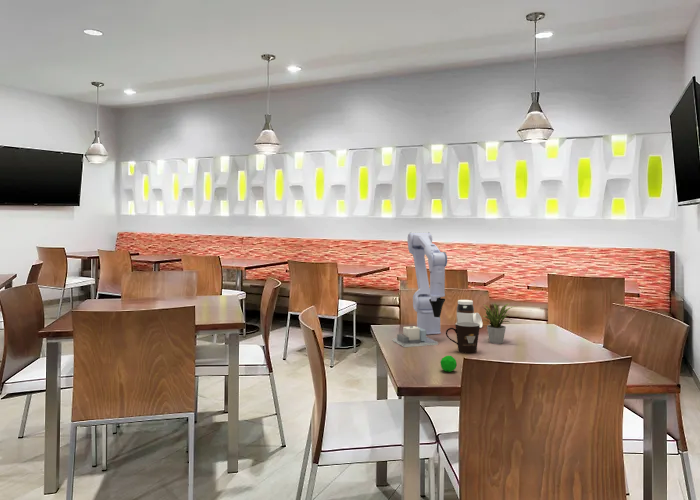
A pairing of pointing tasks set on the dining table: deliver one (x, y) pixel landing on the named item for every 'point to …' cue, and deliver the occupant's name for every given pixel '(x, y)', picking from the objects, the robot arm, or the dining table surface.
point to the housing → (412, 332)
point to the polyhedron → (448, 363)
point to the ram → (422, 334)
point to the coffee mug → (466, 336)
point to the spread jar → (467, 312)
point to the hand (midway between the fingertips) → (437, 316)
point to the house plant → (496, 324)
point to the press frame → (412, 341)
